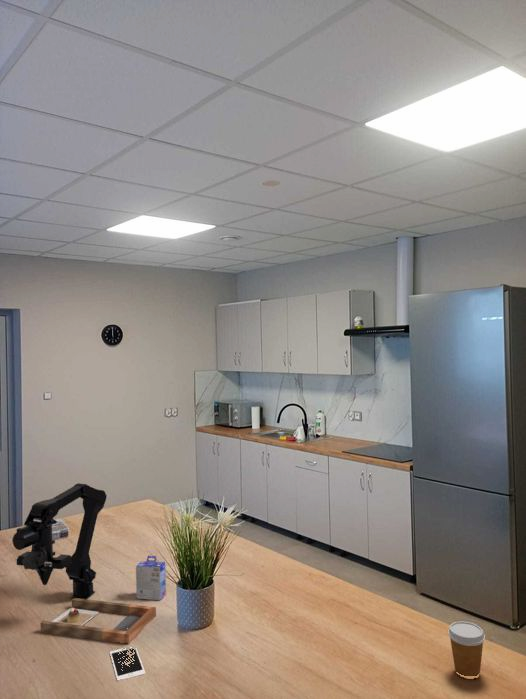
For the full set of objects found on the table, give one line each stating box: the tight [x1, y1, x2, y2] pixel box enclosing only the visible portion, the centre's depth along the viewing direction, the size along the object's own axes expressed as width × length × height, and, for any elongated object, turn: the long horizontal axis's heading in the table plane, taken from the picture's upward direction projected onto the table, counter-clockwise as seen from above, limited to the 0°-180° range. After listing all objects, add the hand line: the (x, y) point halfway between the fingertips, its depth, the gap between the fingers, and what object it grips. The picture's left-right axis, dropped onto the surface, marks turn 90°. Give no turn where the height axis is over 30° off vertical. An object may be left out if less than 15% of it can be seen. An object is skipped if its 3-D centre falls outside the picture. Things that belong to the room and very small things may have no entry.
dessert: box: [50, 607, 100, 626], centre depth 184 cm, size 12×12×5 cm
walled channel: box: [40, 598, 157, 645], centre depth 181 cm, size 32×18×3 cm, turn 74°
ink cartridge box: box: [135, 555, 167, 601], centre depth 200 cm, size 10×6×14 cm, turn 78°
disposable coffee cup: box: [447, 621, 486, 676], centre depth 148 cm, size 10×10×12 cm
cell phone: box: [109, 646, 146, 681], centre depth 158 cm, size 8×16×1 cm, turn 23°
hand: (45, 584), depth 187 cm, fingers closed
